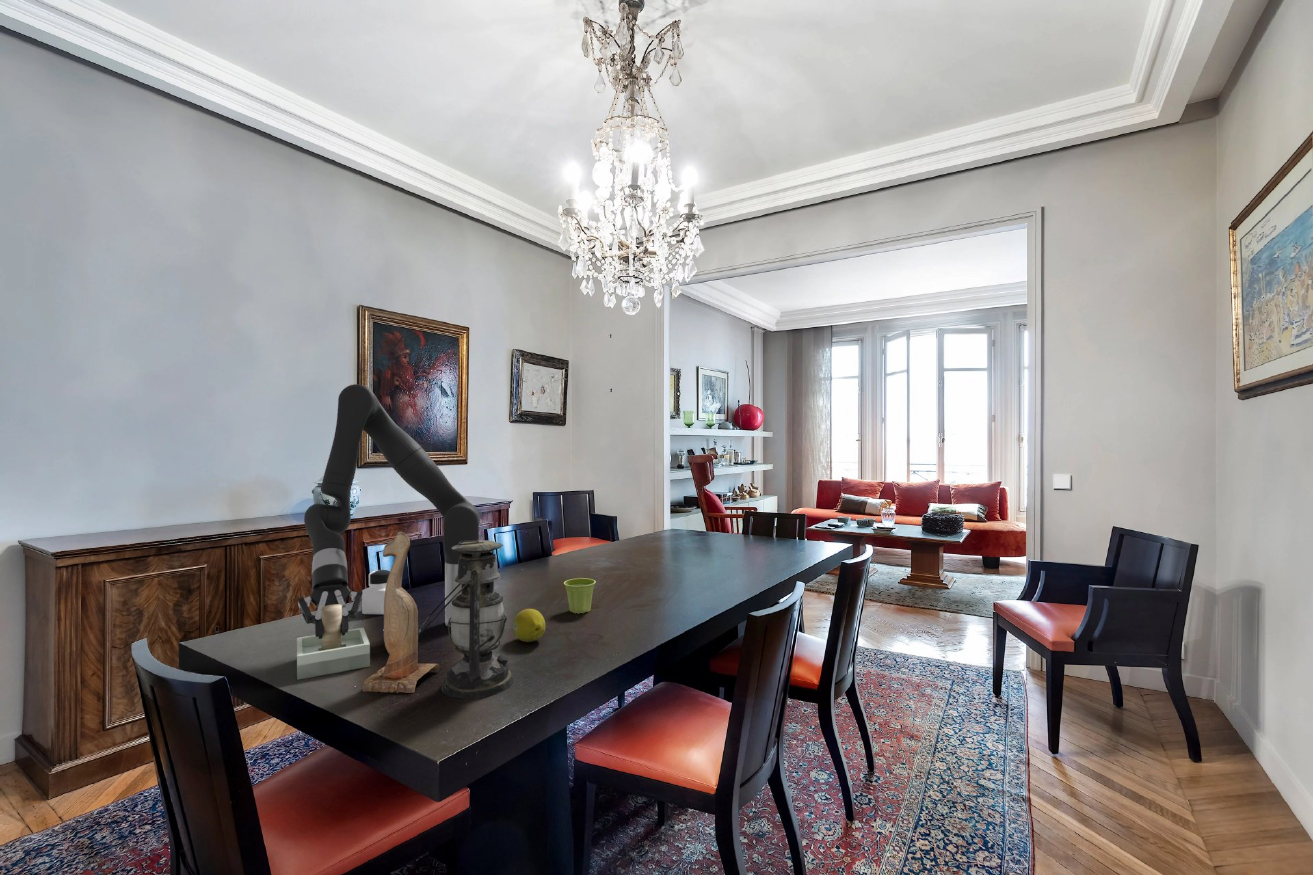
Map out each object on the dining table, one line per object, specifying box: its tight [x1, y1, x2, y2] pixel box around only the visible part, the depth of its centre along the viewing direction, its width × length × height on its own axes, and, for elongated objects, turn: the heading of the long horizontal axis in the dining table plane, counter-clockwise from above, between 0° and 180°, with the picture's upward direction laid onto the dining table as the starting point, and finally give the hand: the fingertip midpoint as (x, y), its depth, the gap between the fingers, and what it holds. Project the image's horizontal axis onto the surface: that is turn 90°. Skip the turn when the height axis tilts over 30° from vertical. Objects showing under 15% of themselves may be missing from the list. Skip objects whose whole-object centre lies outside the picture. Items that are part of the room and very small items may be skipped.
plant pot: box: [563, 577, 597, 614], centre depth 176 cm, size 9×9×9 cm
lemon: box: [512, 608, 546, 643], centre depth 149 cm, size 11×8×8 cm
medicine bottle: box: [361, 569, 391, 615], centre depth 177 cm, size 7×7×12 cm
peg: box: [322, 604, 342, 651], centre depth 135 cm, size 4×4×10 cm
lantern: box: [418, 539, 515, 700], centre depth 123 cm, size 19×19×30 cm
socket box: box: [296, 627, 371, 680], centre depth 135 cm, size 14×14×5 cm
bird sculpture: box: [362, 531, 440, 694], centre depth 125 cm, size 11×12×32 cm
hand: (332, 634), depth 134 cm, fingers closed on peg, 4 cm apart
